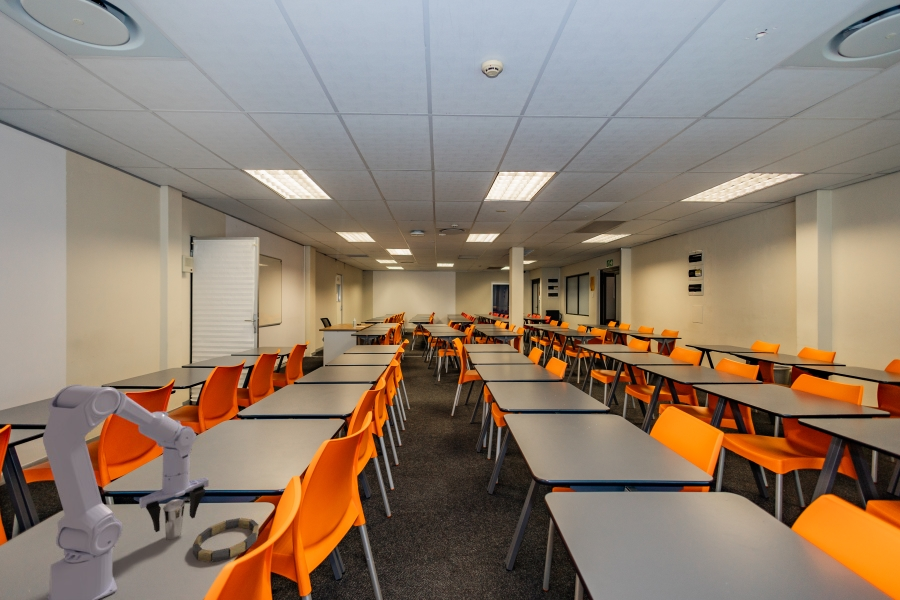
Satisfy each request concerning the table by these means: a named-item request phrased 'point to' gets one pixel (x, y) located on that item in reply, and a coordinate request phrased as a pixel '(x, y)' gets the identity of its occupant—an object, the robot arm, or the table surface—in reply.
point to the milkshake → (173, 518)
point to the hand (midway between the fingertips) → (175, 523)
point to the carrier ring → (228, 552)
